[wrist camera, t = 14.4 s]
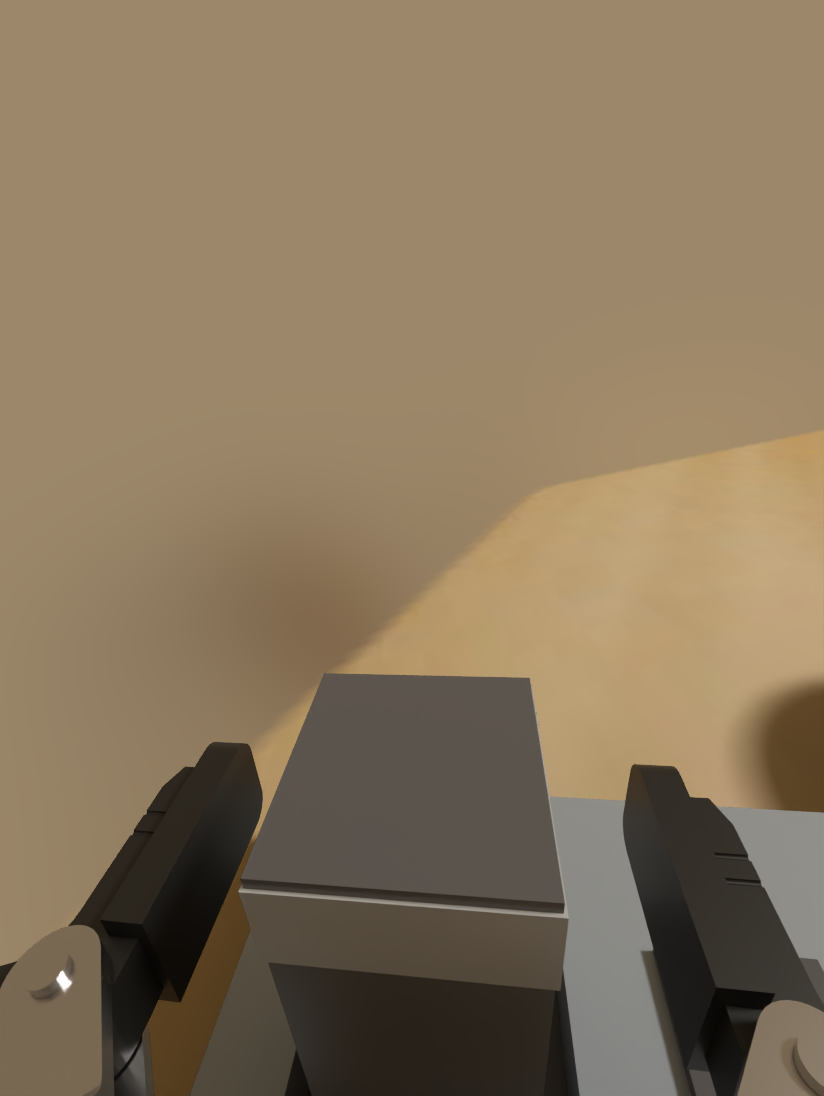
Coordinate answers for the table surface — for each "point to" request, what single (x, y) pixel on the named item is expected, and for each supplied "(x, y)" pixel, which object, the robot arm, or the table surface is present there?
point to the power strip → (568, 967)
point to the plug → (413, 889)
